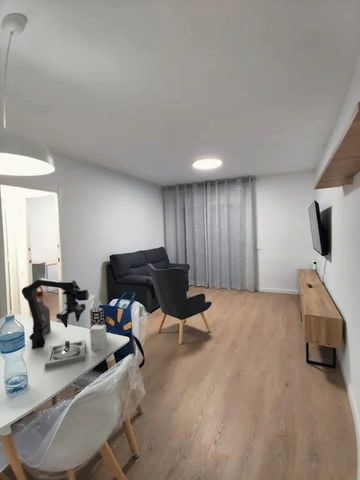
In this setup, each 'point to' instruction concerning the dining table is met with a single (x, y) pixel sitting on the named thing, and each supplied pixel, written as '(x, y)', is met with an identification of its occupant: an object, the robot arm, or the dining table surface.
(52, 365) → the grey square tray
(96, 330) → the small box
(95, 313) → the spotted tube
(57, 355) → the dial
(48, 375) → the dining table surface
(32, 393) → the dining table surface
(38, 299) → the liquor
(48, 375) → the dining table surface
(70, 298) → the robot arm
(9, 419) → the dining table surface
